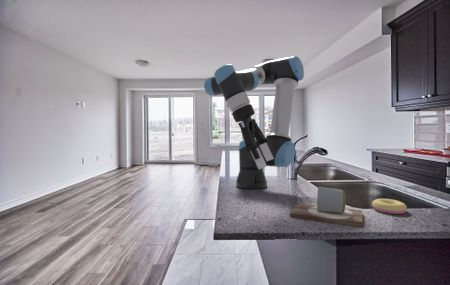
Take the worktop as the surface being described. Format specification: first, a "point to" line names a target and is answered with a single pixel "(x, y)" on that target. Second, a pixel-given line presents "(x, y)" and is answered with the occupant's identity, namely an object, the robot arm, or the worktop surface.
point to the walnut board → (328, 215)
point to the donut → (389, 206)
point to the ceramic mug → (331, 200)
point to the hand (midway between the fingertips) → (266, 163)
